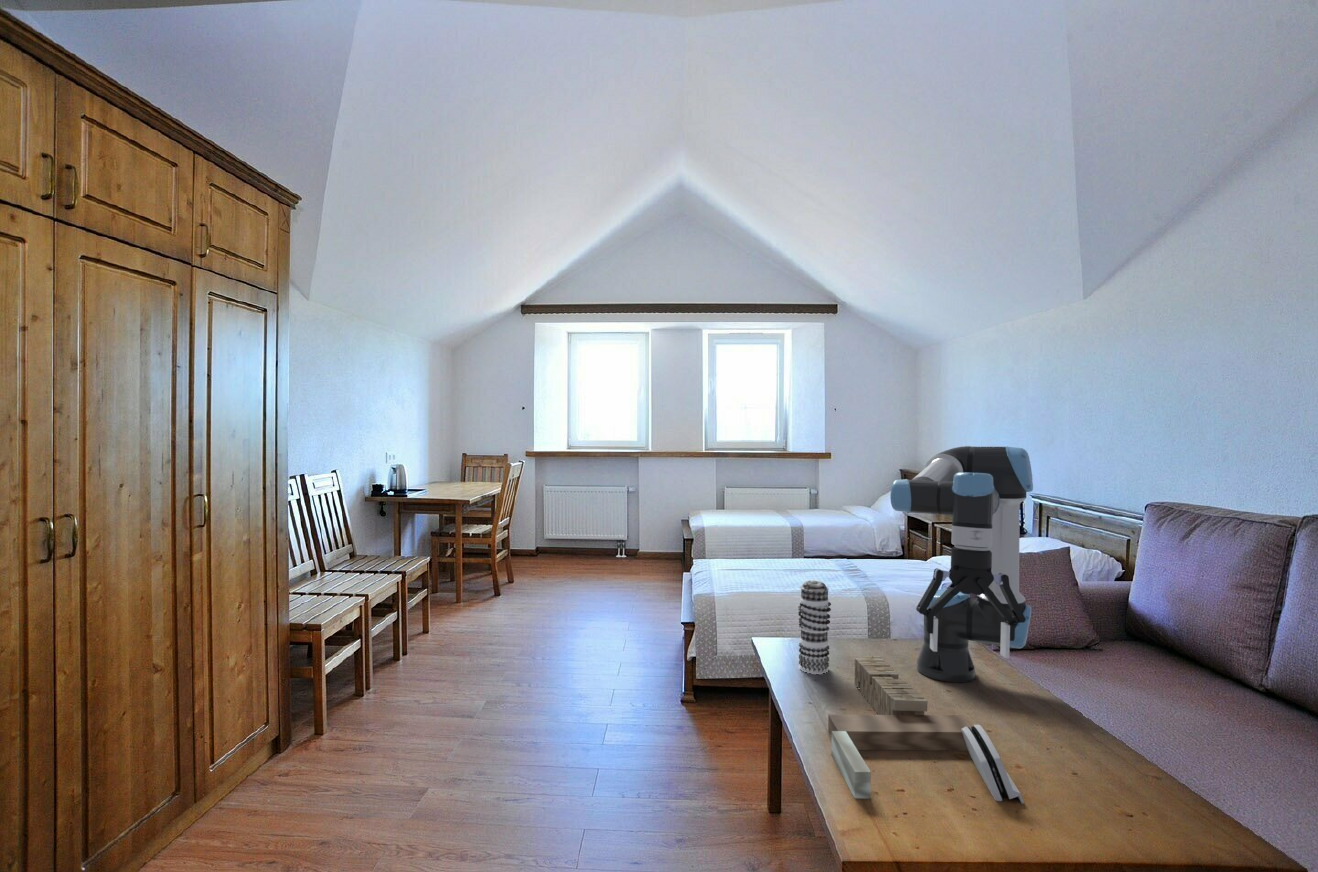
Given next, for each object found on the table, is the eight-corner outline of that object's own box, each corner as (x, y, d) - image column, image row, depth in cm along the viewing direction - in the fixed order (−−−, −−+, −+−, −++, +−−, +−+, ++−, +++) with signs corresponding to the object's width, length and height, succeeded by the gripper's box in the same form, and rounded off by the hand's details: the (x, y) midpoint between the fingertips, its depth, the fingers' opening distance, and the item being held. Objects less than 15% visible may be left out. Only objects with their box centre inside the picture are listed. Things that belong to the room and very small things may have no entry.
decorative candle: (834, 675, 178) (835, 586, 178) (801, 675, 178) (802, 586, 178) (826, 663, 187) (826, 579, 187) (794, 662, 187) (795, 578, 187)
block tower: (852, 687, 173) (893, 735, 144) (852, 655, 173) (893, 697, 144) (881, 686, 173) (927, 735, 144) (881, 655, 173) (927, 697, 144)
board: (959, 732, 145) (959, 711, 144) (1025, 799, 119) (1025, 773, 118) (819, 732, 145) (819, 710, 145) (854, 798, 119) (854, 772, 119)
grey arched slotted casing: (1025, 804, 117) (1005, 752, 118) (999, 810, 118) (979, 758, 118) (996, 758, 133) (979, 712, 134) (973, 763, 134) (956, 718, 135)
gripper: (911, 545, 128) (908, 652, 127) (1045, 554, 124) (1043, 664, 123) (903, 541, 136) (900, 642, 134) (1029, 550, 131) (1027, 654, 130)
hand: (968, 653), depth 128 cm, fingers open, 13 cm apart
